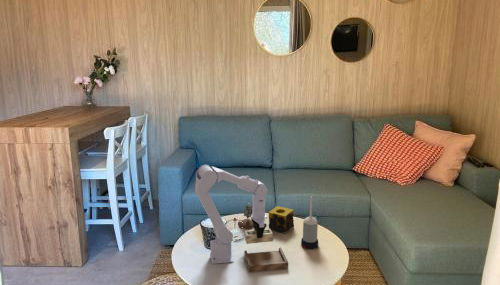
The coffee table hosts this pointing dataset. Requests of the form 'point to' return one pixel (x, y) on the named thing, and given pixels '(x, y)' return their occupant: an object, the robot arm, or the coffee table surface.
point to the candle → (281, 219)
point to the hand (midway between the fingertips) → (258, 235)
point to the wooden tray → (266, 261)
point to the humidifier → (310, 231)
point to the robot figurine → (247, 222)
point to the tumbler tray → (252, 238)
